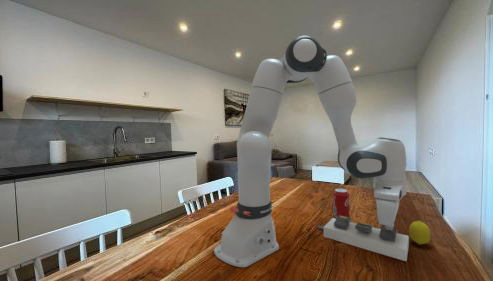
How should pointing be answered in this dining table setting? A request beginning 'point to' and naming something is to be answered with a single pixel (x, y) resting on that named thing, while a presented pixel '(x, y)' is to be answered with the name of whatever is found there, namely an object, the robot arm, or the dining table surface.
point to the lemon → (419, 232)
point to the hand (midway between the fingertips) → (389, 228)
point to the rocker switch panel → (368, 240)
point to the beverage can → (341, 203)
